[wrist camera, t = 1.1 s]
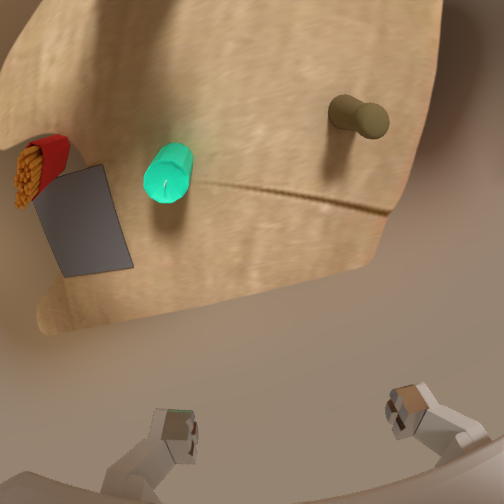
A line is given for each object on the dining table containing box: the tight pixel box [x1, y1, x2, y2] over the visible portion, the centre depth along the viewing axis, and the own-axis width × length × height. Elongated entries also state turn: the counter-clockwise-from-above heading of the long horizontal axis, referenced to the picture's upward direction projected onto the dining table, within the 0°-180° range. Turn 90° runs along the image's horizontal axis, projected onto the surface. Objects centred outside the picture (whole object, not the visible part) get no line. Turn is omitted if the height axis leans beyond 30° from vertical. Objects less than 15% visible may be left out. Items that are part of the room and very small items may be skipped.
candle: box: [144, 143, 193, 203], centre depth 41 cm, size 6×6×12 cm
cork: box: [328, 95, 389, 139], centre depth 40 cm, size 6×6×11 cm
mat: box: [33, 164, 134, 278], centre depth 49 cm, size 20×16×1 cm
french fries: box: [14, 134, 70, 210], centre depth 37 cm, size 9×4×13 cm, turn 155°
